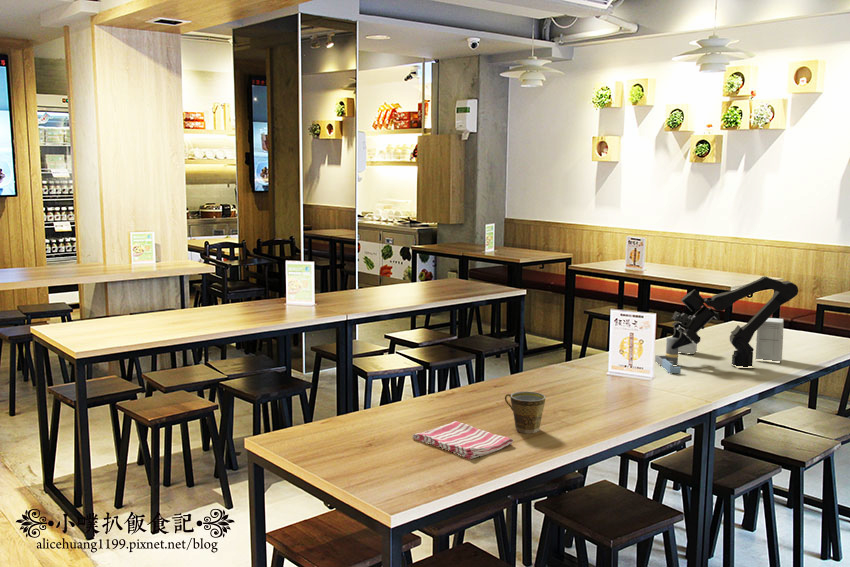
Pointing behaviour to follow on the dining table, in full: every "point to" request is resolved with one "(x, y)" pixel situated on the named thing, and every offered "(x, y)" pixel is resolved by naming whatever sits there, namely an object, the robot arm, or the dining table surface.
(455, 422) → the dish towel
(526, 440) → the dining table surface
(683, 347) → the supplement box
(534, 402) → the ceramic cup
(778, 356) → the supplement box
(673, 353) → the gray banded cylinder
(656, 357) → the duct rail
